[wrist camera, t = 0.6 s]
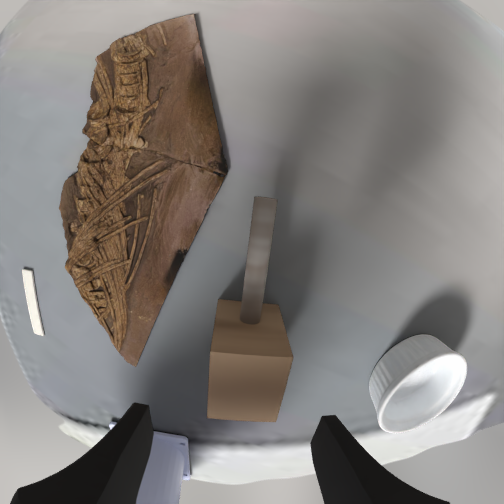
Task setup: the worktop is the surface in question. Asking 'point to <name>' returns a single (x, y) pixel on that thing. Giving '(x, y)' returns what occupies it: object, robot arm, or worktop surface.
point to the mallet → (250, 338)
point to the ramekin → (415, 382)
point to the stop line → (32, 301)
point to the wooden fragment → (141, 177)
